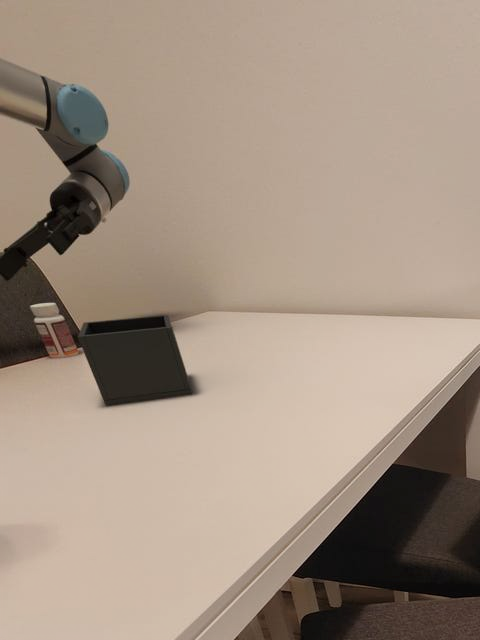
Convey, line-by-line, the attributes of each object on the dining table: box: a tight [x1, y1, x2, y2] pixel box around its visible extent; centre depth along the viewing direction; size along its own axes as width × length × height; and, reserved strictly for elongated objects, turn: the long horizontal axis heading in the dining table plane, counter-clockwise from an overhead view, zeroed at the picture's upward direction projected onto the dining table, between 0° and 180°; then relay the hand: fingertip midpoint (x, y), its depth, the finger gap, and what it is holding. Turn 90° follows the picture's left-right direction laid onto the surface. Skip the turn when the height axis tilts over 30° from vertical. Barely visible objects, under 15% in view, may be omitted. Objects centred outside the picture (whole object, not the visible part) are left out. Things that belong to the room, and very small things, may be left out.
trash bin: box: [77, 314, 193, 407], centre depth 85 cm, size 11×11×9 cm
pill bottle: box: [29, 302, 79, 359], centre depth 105 cm, size 5×5×8 cm
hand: (26, 260), depth 101 cm, fingers open, 13 cm apart
